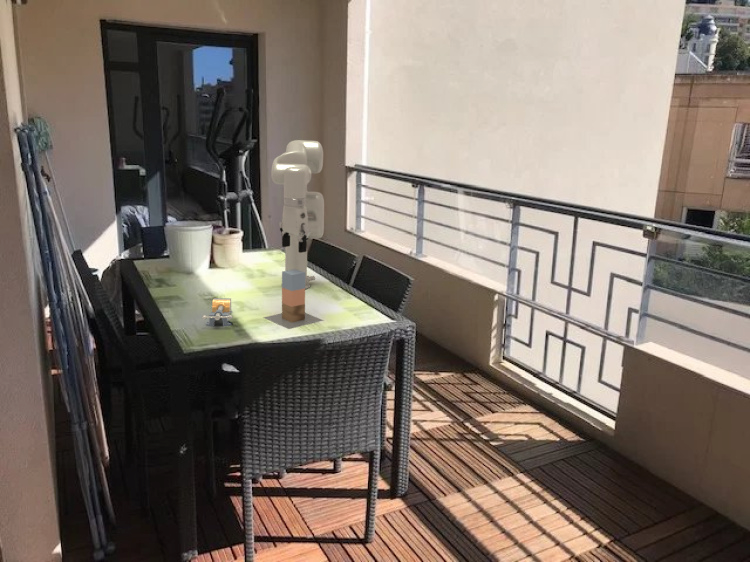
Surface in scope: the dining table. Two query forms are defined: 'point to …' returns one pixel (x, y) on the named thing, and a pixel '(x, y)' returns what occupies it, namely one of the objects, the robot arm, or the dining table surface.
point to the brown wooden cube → (293, 312)
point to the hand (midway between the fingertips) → (294, 249)
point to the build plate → (289, 325)
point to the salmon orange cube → (293, 297)
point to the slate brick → (293, 280)
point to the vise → (220, 312)
